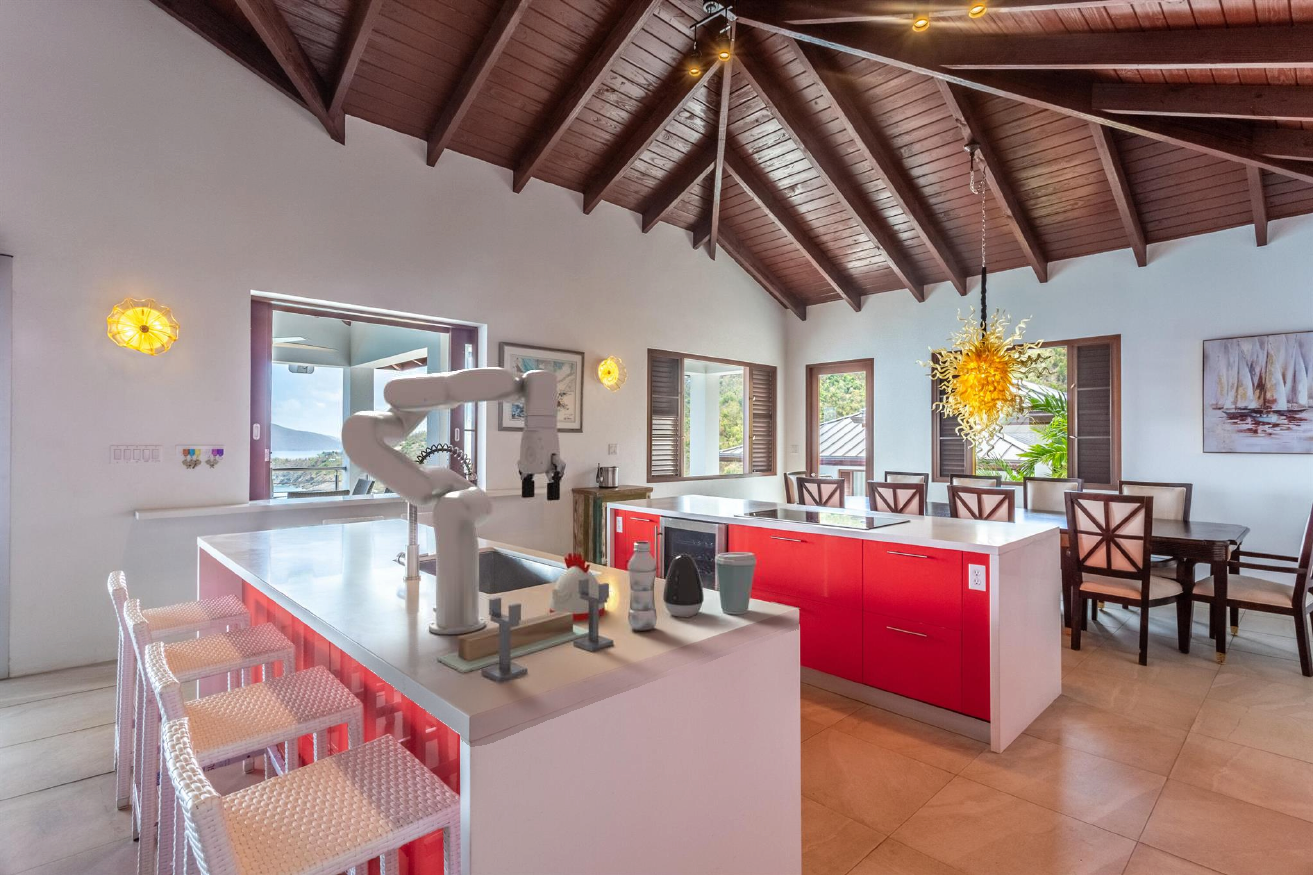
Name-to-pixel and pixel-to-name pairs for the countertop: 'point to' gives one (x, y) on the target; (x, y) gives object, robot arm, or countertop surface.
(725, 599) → the disposable coffee cup
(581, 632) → the mat
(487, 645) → the rail
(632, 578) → the plastic bottle
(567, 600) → the kitchen timer
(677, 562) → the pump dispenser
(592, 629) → the hook standards
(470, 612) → the robot arm
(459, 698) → the countertop surface
